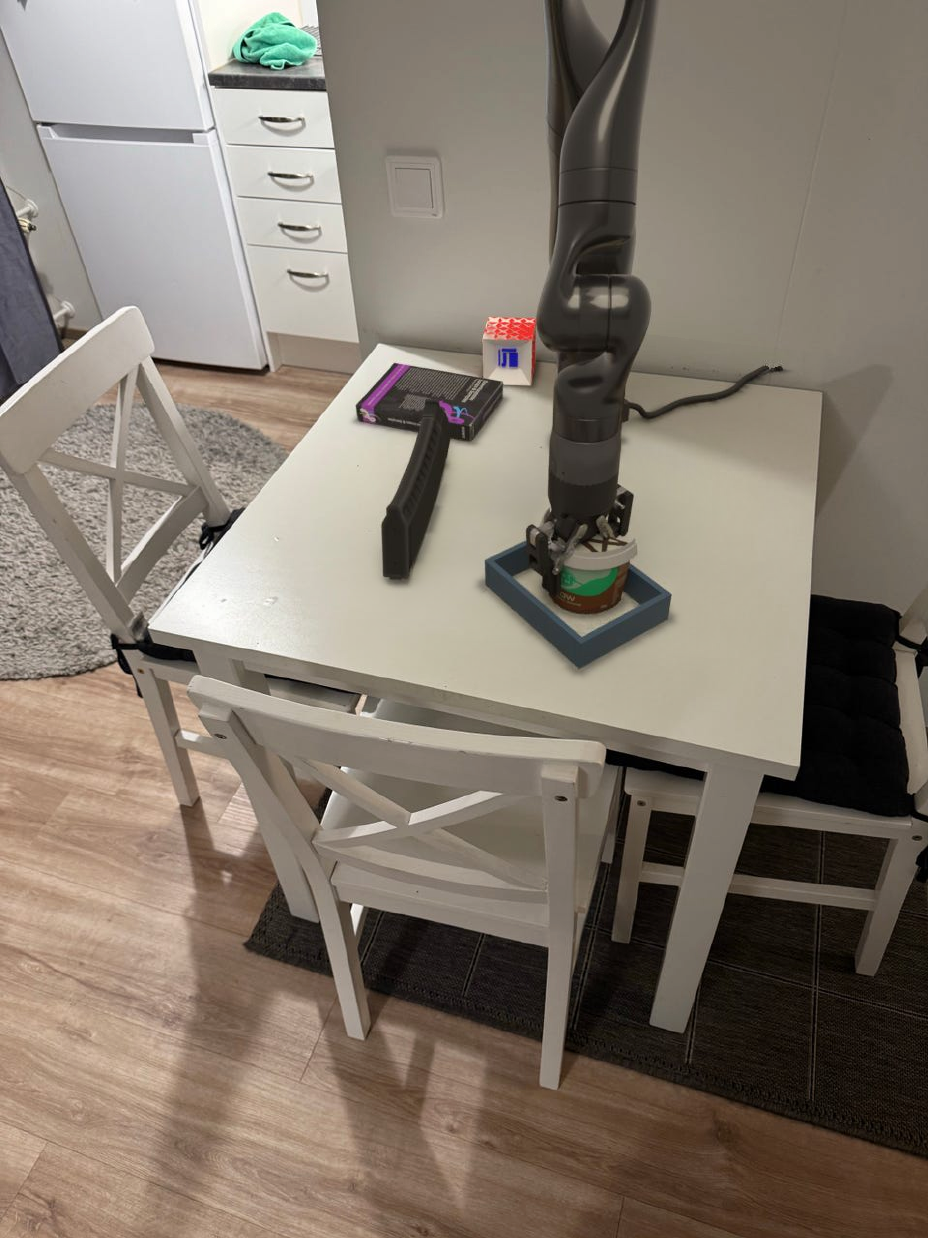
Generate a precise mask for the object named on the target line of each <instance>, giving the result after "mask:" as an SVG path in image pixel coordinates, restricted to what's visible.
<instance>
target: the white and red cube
mask: <svg viewBox="0 0 928 1238" xmlns="http://www.w3.org/2000/svg"><path fill="white" fill-rule="evenodd" d="M536 342H537V326H536V317H501V316H500V317H499V316H488V317H487V321H486V325H485V329H484V332H483V335H482V339H481V348H482V378H486V379H491V380H496V381H502V382H503V386H504V385H505V386H509V385H511V386H532V385H533V379H534V371H535V368H536V350H537V349H536V344H537V343H536Z"/></svg>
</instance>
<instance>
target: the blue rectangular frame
mask: <svg viewBox="0 0 928 1238" xmlns="http://www.w3.org/2000/svg"><path fill="white" fill-rule="evenodd" d="M528 569H531V567H530V566H529V565H528V564H527V545H526V540H523V541H522V542H520V543H518V544H516V545H514V546H511V547H509V548H507V549H505V550H503V551H501V552H498V553H496V554H494V555H492V556H490V557H488V558H485V559H484V581H485V582H484V583H485V586H486V587H487V588H489V590H490V591H492V592H493V593H494V594H495V595H496V596H497V597H498V598H499V599H501V601H503V602H504V603H505V604H506V605H507V606H509V608H511V609H512V610H513V611H514V612H515V613H516V614H517V615H519V617H521V618H522V620H523V621H525V622H526V623H527V624H529V625H530V627H532V628H533V629H534V630H535V631H536V632H537V633H538V634H540V635H541V636H542V637H543V638H544V639H545V640H546V641H547V642H549V644H551V645H552V646H553V647H554V648H555V649H556V650H557V651H559V652H560V653H561V654H562V655H563V656H564V657H565V658H567V660H569V662H571V663H572V664H573V665H574V666H575V667H576V668H577V669H582V668H583V667H586V666H587V665H589V664H590V663H593V662H594V661H596V660H598V659H599V658H601V657H604V656H605V655H607V654H608V653H610V652H612V651H614V650H615V649H617V648H619V647H621V646H623V645H624V644H626V643H628V642H630V641H632V640H634V639H635V638H637V637H638V636H640V635H642V634H644V633H647V631H649V630H652V629H653V628H654V627H656V626H658V625H661V624H662V623H664V622H665V621H668V620H669V614H670V609H671V601H672V596H673V595H672V593H671V592H670V591H668V590H667V589H666V588H664V587H663V586H662V585H660V584H659V583H658V582H656V581H655V580H653V578H651V577H650V576H648V575H647V574H645V573H644V572H643V571H642V570H640V569H639V568H638V567H636V566H635V565H634V564H632V563H631V562H630V564H629V568H628V572H627V576H626V580H625V584H624V588H623V592H624V593H625V594H627V595H628V596H629V597H630V598H632V599H633V600H634V601H635V602H636V603H638V604H639V605H638V606H636V607H634V608H632V609H631V610H628V611H626V612H625V613H623V614H622V615H619V616H618V617H616V618H614V619H612V620H610V621H608V622H607V623H604V624H603V625H601V626H599V627H597V628H595V629H594V630H592V631H590V632H588V633H586V634H584V635H580V634H579V633H578V632H577V631H576V630H574V629H573V628H572V627H571V626H570V625H569V624H567V622H565V621H564V620H563V619H562V618H561V617H560V616H558V615H557V614H556V613H555V612H554V611H553V610H551V608H549V607H548V606H547V605H545V604H544V602H542V600H540V599H539V598H537V597H536V596H535V595H534V594H533V593H532V592H530V590H528V589H527V588H526V587H525V586H524V585H522V583H520V582H519V581H518V580H517V579H515V578H514V576H516V575H518V574H521V573H522V572H524V571H526V570H528Z"/></svg>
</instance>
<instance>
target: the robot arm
mask: <svg viewBox="0 0 928 1238" xmlns="http://www.w3.org/2000/svg"><path fill="white" fill-rule="evenodd" d="M660 1H661V0H623V6H622V10H621V15H620V17H619V18H620V19H619V21H618V26H617V28H616V30H615V34H614V36H613V38H612V41H610V40H609V39H608V38H607V36H606V35H605V34H604V33H603V31H602V30H601V29H600V27H599V26H598V24H596V22H595V20H594V19H593V17H592V15H591V14H590V12H589V10H588V8H587V6H586V3H585V1H584V0H541V8H542V9H541V10H542V18H543V19H542V20H543V31H544V45H545V126H546V127H545V128H546V145H547V155H548V156H547V157H548V167H549V169H548V171H549V183H550V185H549V187H550V205H549V231H548V264H549V268H548V271H547V275H546V278H545V281H544V283H543V284H544V285H543V287H542V291H541V294H540V298H539V301H538V305H537V310H536V315H535V318H536V333H537V334H538V337H539V339H540V341H541V343H542V345H543V346H544V347H545V348H546V350H549V351H550V352H552V353H553V352H554V353H556V359H555V361H556V362H555V363H556V365H555V379H554V383H553V394H552V395H553V396H552V421H551V422H552V425H551V432H550V437H549V442H548V443H549V444H548V445H549V446H548V470H547V471H548V473H547V474H548V475H547V498H548V502H549V505H550V515H549V517H548V520H547V523H545V524H543V525H541V526H540V525H539V526H536V525H535V524H534V523H531V524H529V525H527V527H526V529H525V541H526V545H527V564H528V565H529V566H530V569H532V570H533V571H534V572H535V573H537V575H539V576H541V587H542V589H544V590H545V591H546V592H547V593H548V592H549V593H550V594H552V595H553V596H554V597H556V596H558V595H559V594H561V577H562V572H561V569H562V567H563V565H564V563H565V560H566V558H570V557H571V556H572V554H573V552H574V550H575V548H576V546H577V545H578V544H580V543H581V542H583V541H584V540H585V539H590V538H592V537H594V536H596V533H599V534H600V535H601V536H602V537H604V538H605V539H607V538H608V537H609V536H610V537H613V538H615V539H617V538H619V537H621V538H622V537H625V536H627V535H628V533H629V529H630V523H631V516H632V510H633V504H634V498H635V495H634V493H633V492H631V491H630V490H629V489H627V488H626V487H624V486H622V485H621V484H620V483H619V476H620V475H619V474H620V466H621V465H620V464H621V454H622V430H623V429H622V428H623V423H625V422H626V423H627V422H628V421H630V420H629V419H630V410H634V411H636V412H637V413H638V414H639V415H640V416H641V418H644V419H654V418H657V417H660V416H662V415H664V414H666V413H668V412H669V411H671V410H673V409H675V408H677V407H679V406H683V405H686V404H692V403H697V402H705V401H713V400H717V399H721V398H724V397H727V396H729V395H732V394H734V393H735V392H737V391H738V390H739V389H740V388H741V387H742V386H744V385H745V383H746V382H749V381H750V380H752V379H754V378H755V377H757V376H759V375H761V374H763V373H764V372H766V371H768V370H775V371H778V372H782V371H784V368H783V366H782V365H781V366H778V367H775V368H771V369H769V367H768V366H766V364H764V365H765V366H764V365H762V366H760V367H757V368H756V369H755V370H753V371H751V372H749V373H747V374H746V375H744V376H743V377H741V378H740V379H739V380H738V381H737V382H736V383H734V384H733V385H732V386H730V387H728V388H727V389H724V390H721V391H718V392H712V393H706V394H697V395H692V396H687V397H686V396H685V397H682V398H678V399H676V400H673V401H672V402H670V403H669V404H666V405H664V406H662V407H660V408H658V409H657V410H654V411H646V410H645V409H644V407H643V406H642V405H641V404H638V403H635V402H631V401H629V400H628V399H626V398H625V397H626V387H627V382H628V378H629V376H630V373H631V369H632V367H633V364H634V362H635V360H636V357H637V355H638V353H639V350H640V348H641V347H642V343H643V341H644V339H645V336H646V334H647V331H648V328H649V325H650V322H651V317H652V299H651V294H650V291H649V290H648V287H647V285H646V284H645V282H644V281H643V280H642V279H641V278H640V277H638V276H635V275H633V274H632V272H633V265H634V260H635V252H636V243H637V226H636V217H637V202H638V201H637V198H638V181H639V180H638V178H639V176H638V175H639V159H640V158H639V156H640V144H641V131H642V123H643V115H644V109H645V108H644V107H645V101H646V94H647V89H648V82H649V77H650V72H651V64H652V58H653V52H654V46H655V40H656V39H655V38H656V31H657V24H658V18H659V17H658V16H659V10H660V3H661V2H660ZM618 520H619V521H618ZM558 537H559V538H560V539H562V540H563V541H564V542H565V543H567V544H566V546H565V548H563V547H561V546H560V545H558V544H557V543H559V542H558ZM554 541H556V542H557V543H555V542H554ZM559 544H560V543H559ZM552 550H553V551H554V552H556V553H557V557H556V559H555V561H554V560H552V559H551V554H552ZM549 593H548V594H549Z"/></svg>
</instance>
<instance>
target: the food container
mask: <svg viewBox="0 0 928 1238" xmlns="http://www.w3.org/2000/svg"><path fill="white" fill-rule="evenodd" d="M550 512H551V506H550V507H548V508H547V509H546V510H545V512H544V513H543V516H542V518H541V520H540V524H539V526H541V525H543V524H545V523H547V520H548V517H549V515H550ZM554 542H555V543H557V542H556V541H554ZM558 542H559V543H560V544H559V543H557V544H558V545H560V546H561V547H563V548H565V546H566V544H567V543H565V542H564V541H563V540H562V539H560V538H559V537H558ZM637 555H638V545H637V543H636V538H633V539H632V540H631V541H629V542H628V541H624V540H620V539H617V538H616V539H615V538H613V537H610V536H609V537H608V538H607V539H605V538H604V537H602V536H601V535H600V534H599V533H596V536H594V537H592V538H590V539H585V540H584V541H583V542H581V543H580V544H578V545H577V546H576V548H575V550H574V552H573V554H572V556H571V557H570V558H566V560H565V563H564V565H563V567H562V569H561V572H562V577H561V594H559V595H558V596H556V597H554V596H553V595H552V594H550V593H549V592H547V593H548V596H549V598H550V600H552V602H553V603H554V604H555V605H556V606H558V607H559V608H561V609H562V610H565V611H567V612H570V613H573V614H578V615H596V614H600V613H603V612H606V611H609V610H611V609H613V608H614V607H616V606H617V605H618V604H619V603H620V602H621V599H622V596H623V592H624V591H623V588H624V584H625V580H626V576H627V572H628V568H629V564H630V563H631V560H633V559H634V558H635V557H637ZM556 557H557V553H556V552H554V551H553V550H552V554H551V559H552V560H554V561H555V559H556Z"/></svg>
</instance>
